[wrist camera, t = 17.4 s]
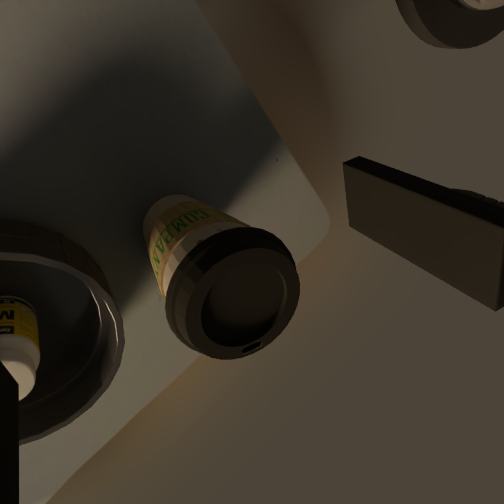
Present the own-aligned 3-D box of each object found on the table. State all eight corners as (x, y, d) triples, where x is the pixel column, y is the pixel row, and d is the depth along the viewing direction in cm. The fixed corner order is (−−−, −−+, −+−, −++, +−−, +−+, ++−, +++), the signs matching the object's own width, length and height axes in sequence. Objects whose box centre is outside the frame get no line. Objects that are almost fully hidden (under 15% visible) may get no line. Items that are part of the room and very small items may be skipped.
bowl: (62, 186, 34) (72, 213, 29) (134, 340, 43) (152, 381, 38) (-191, 274, 29) (-233, 326, 24) (-49, 428, 38) (-57, 489, 33)
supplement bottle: (14, 283, 35) (16, 342, 28) (47, 322, 38) (56, 384, 31) (-44, 314, 34) (-56, 383, 27) (-6, 352, 37) (-8, 423, 30)
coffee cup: (215, 162, 40) (305, 218, 28) (229, 254, 44) (311, 334, 33) (108, 191, 36) (158, 268, 24) (137, 286, 41) (190, 389, 29)
